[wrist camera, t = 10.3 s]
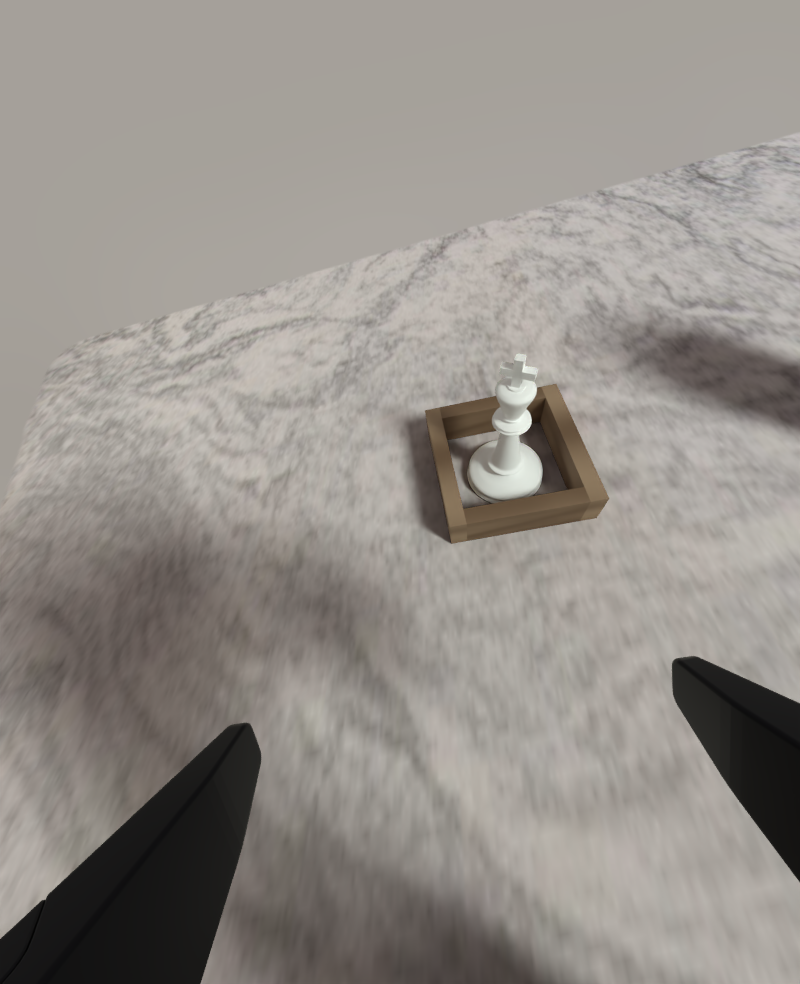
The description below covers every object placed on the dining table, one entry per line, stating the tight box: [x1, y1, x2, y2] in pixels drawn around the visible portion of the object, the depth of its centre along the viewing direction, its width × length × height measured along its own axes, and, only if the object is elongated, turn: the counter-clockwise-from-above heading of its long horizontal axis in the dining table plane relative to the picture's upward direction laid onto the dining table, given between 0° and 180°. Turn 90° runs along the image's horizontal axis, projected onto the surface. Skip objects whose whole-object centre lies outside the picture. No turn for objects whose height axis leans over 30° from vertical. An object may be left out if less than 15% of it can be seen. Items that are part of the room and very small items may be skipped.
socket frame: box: [425, 384, 609, 544], centre depth 25 cm, size 9×9×2 cm
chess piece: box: [467, 354, 543, 503], centre depth 22 cm, size 5×5×10 cm
